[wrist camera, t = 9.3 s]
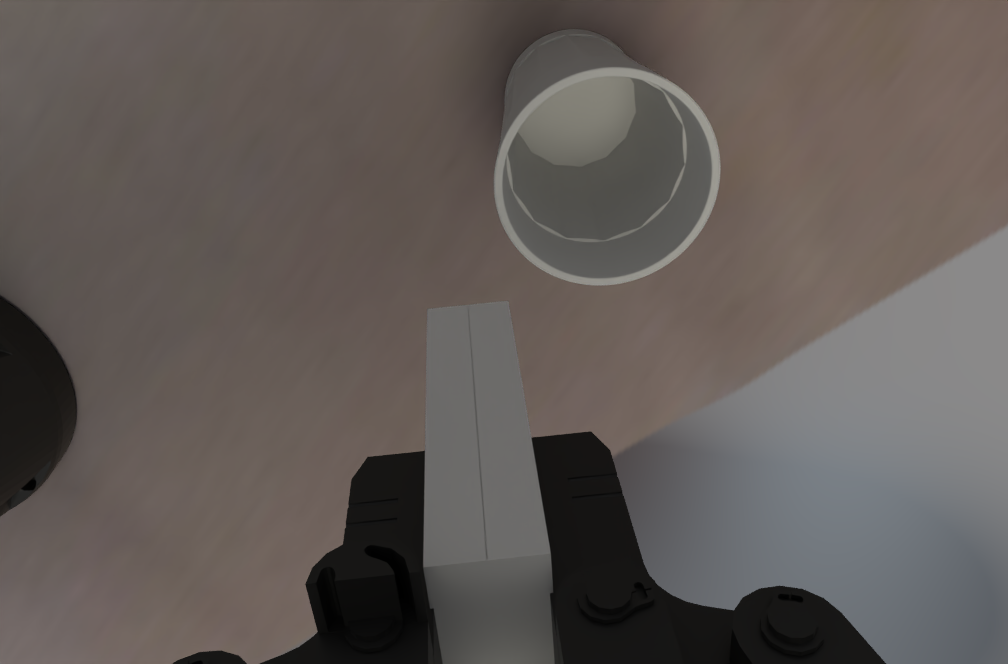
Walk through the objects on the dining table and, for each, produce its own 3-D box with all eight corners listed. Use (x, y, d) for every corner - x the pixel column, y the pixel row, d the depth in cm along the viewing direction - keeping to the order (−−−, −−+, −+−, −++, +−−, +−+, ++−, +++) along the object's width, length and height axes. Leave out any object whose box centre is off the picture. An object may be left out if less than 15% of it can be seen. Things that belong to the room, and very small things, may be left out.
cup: (527, -20, 38) (549, 28, 27) (685, 51, 40) (763, 121, 29) (462, 144, 41) (459, 242, 31) (609, 202, 43) (655, 313, 33)
